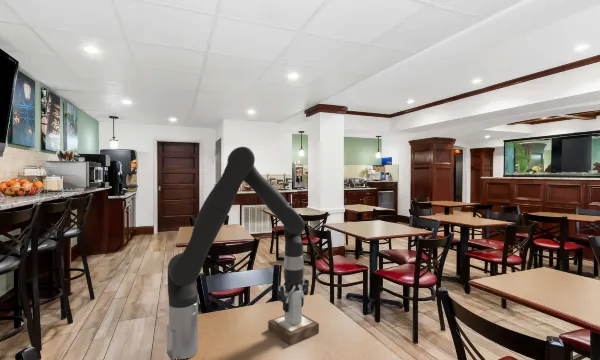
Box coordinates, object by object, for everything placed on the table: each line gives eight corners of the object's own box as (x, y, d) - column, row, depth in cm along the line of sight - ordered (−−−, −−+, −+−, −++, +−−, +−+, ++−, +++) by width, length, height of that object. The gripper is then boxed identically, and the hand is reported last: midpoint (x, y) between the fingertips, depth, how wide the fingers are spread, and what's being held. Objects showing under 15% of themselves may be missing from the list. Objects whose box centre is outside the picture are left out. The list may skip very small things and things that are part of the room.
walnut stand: (289, 345, 110) (290, 334, 109) (268, 329, 120) (268, 319, 120) (318, 332, 118) (318, 322, 118) (296, 319, 129) (296, 309, 129)
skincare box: (302, 322, 118) (302, 291, 118) (293, 325, 115) (293, 293, 115) (292, 316, 123) (292, 286, 123) (283, 320, 120) (283, 289, 120)
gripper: (284, 272, 111) (284, 318, 112) (314, 265, 121) (313, 307, 121) (272, 267, 117) (272, 311, 118) (301, 261, 126) (301, 301, 127)
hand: (293, 309), depth 119 cm, fingers open, 6 cm apart
